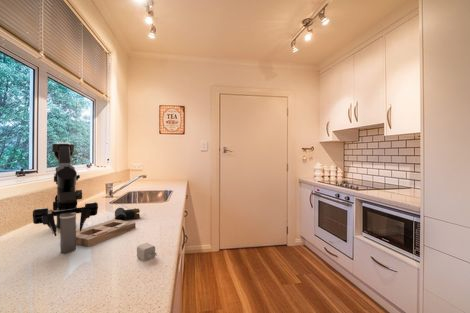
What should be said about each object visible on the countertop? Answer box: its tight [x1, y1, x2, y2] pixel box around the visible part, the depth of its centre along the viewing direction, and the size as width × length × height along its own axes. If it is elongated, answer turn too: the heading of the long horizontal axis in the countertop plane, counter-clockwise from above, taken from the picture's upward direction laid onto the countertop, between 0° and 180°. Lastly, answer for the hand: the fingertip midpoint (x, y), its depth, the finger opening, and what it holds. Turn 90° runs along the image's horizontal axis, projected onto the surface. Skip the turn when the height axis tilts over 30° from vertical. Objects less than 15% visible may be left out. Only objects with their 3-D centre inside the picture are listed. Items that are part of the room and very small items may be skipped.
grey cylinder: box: [59, 212, 77, 254], centre depth 79 cm, size 5×5×13 cm
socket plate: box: [76, 218, 136, 247], centre depth 95 cm, size 14×22×3 cm, turn 158°
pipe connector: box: [114, 207, 141, 221], centre depth 117 cm, size 12×5×15 cm
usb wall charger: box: [136, 242, 158, 262], centre depth 73 cm, size 4×7×4 cm, turn 51°
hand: (68, 233), depth 78 cm, fingers open, 7 cm apart
